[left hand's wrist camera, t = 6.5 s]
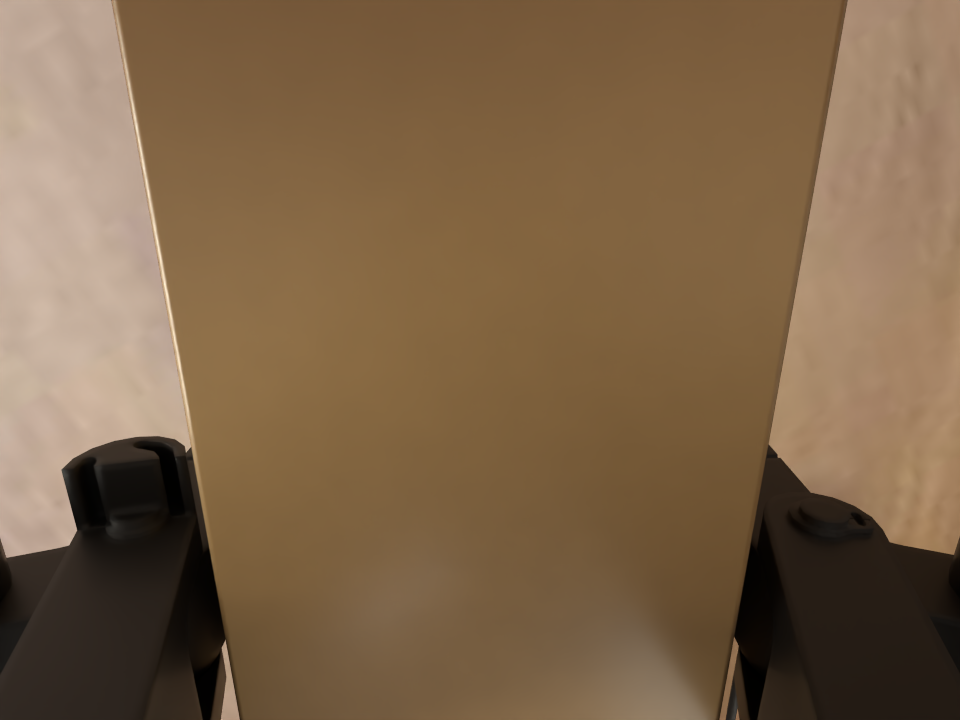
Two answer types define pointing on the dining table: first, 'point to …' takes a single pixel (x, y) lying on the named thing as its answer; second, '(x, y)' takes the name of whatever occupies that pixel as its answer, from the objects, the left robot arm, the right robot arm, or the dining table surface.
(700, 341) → the bar
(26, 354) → the dining table surface
